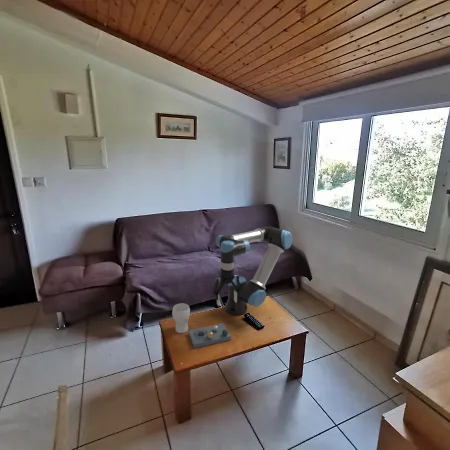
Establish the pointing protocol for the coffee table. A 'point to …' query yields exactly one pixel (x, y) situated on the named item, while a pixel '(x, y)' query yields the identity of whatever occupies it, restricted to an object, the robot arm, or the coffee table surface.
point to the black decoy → (224, 332)
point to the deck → (203, 340)
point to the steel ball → (215, 328)
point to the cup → (181, 317)
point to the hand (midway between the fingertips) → (226, 303)
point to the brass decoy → (210, 335)
